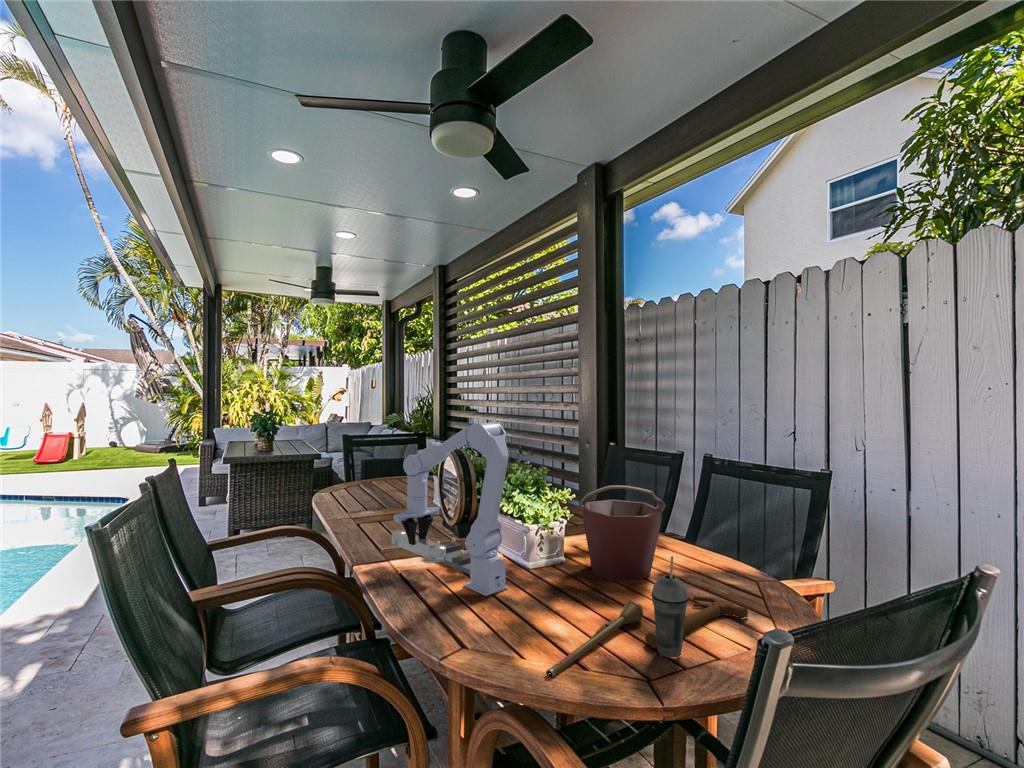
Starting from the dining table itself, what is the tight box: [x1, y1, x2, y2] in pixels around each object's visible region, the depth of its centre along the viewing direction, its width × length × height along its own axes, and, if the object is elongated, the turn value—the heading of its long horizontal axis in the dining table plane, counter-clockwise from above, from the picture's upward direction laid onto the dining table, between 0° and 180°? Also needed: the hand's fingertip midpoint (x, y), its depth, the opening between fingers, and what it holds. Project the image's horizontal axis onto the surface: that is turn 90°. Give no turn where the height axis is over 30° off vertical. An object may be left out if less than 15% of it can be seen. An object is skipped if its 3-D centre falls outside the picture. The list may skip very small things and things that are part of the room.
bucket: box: [578, 484, 667, 582], centre depth 155 cm, size 24×22×25 cm
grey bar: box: [391, 529, 446, 563], centre depth 154 cm, size 24×4×4 cm, turn 44°
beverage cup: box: [650, 555, 690, 657], centre depth 108 cm, size 7×7×20 cm
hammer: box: [644, 595, 749, 648], centre depth 121 cm, size 12×3×30 cm
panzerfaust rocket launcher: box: [545, 600, 644, 678], centre depth 112 cm, size 5×35×5 cm
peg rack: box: [435, 537, 471, 575], centre depth 164 cm, size 24×10×5 cm, turn 44°
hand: (417, 542), depth 154 cm, fingers closed on grey bar, 3 cm apart
